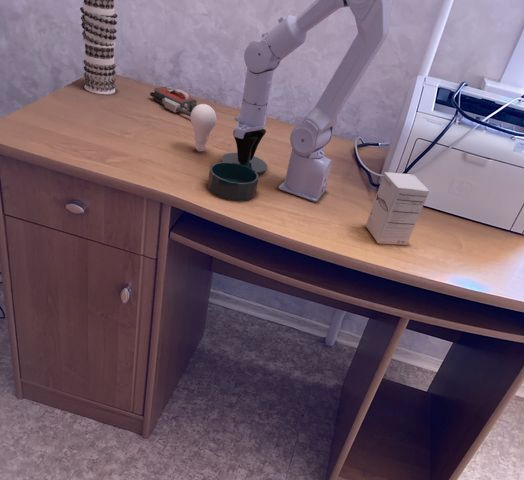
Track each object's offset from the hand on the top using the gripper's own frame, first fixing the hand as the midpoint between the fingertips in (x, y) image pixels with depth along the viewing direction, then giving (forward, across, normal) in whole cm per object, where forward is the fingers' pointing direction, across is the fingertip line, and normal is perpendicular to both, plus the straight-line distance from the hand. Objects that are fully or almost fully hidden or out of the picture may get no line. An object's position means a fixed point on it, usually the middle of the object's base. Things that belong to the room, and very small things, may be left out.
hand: (245, 160), depth 126 cm
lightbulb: (+2, 0, -12) cm, 12 cm away
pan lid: (+1, 0, 0) cm, 1 cm away
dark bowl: (+2, +14, +3) cm, 14 cm away
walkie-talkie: (+2, -23, -30) cm, 38 cm away
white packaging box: (+2, +10, +38) cm, 39 cm away
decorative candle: (+2, -18, -53) cm, 56 cm away
